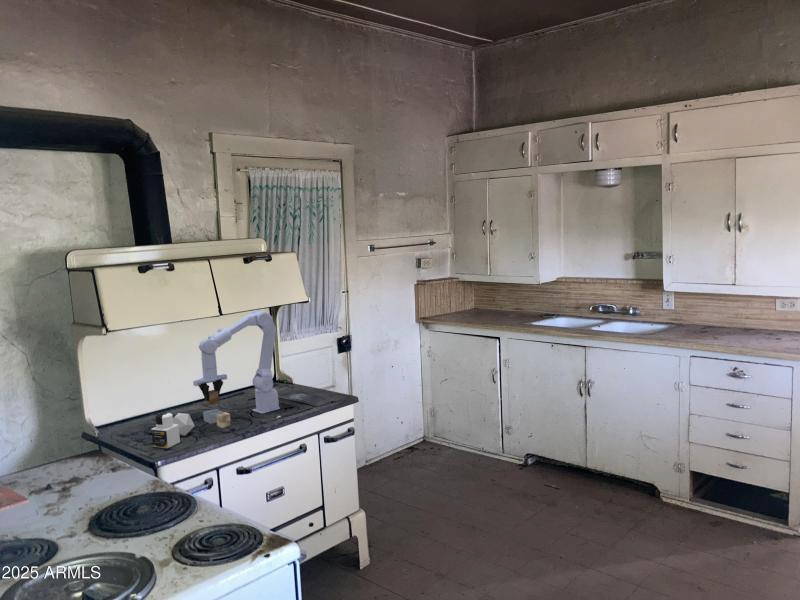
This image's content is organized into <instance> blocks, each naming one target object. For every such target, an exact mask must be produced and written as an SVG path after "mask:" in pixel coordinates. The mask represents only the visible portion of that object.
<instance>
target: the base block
mask: <svg viewBox="0 0 800 600" xmlns="http://www.w3.org/2000/svg"><path fill="white" fill-rule="evenodd" d="M223 412H224V411H222V410H220V409H218V408H215V409H211V410H206V411H203V412H202V414H203V421H204V422H205V423H208V424H216V423H217V420H216V414H220V413H223Z"/></svg>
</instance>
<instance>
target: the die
mask: <svg viewBox="0 0 800 600" xmlns="http://www.w3.org/2000/svg"><path fill="white" fill-rule="evenodd" d="M173 424H178V425H179V436H182V437H183V436H184V437H185V436H187V435H188V434H189V433H190V432H191V430H192V429H193V428H194V427H195V423H194V422H193V419H192V418H191V415H190V413H181V412H178V413H177V414H176V415H175V416H174V417H173Z"/></svg>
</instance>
